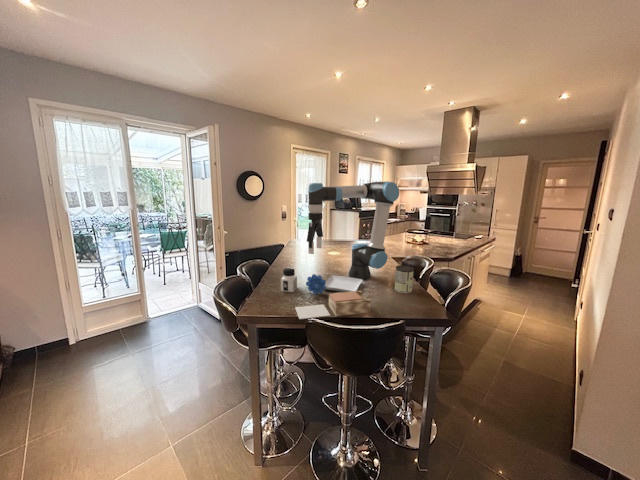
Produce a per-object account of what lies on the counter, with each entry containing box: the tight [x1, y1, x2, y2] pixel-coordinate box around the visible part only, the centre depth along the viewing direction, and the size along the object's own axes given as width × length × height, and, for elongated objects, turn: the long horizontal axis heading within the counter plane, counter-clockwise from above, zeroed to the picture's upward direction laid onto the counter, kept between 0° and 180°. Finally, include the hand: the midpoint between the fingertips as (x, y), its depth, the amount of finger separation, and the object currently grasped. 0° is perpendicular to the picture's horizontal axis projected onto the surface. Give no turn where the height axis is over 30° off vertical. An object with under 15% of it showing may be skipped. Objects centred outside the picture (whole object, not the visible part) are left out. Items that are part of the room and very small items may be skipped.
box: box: [328, 290, 372, 317], centre depth 132 cm, size 18×12×7 cm, turn 105°
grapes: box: [305, 273, 327, 295], centre depth 149 cm, size 12×7×12 cm, turn 99°
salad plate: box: [324, 274, 364, 293], centre depth 162 cm, size 21×21×3 cm
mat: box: [294, 304, 331, 320], centre depth 129 cm, size 15×12×1 cm
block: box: [329, 292, 362, 304], centre depth 131 cm, size 14×9×2 cm, turn 105°
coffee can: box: [394, 265, 415, 294], centre depth 157 cm, size 10×10×14 cm
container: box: [280, 267, 298, 293], centre depth 156 cm, size 8×8×13 cm
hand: (315, 250), depth 145 cm, fingers open, 13 cm apart
